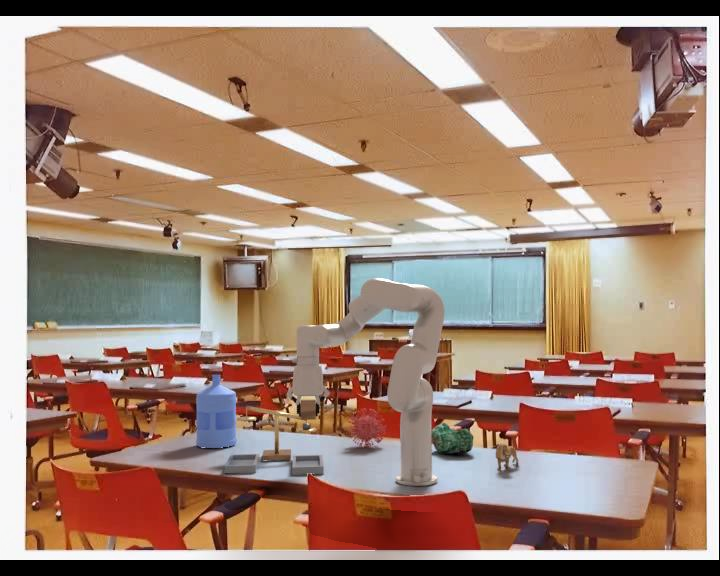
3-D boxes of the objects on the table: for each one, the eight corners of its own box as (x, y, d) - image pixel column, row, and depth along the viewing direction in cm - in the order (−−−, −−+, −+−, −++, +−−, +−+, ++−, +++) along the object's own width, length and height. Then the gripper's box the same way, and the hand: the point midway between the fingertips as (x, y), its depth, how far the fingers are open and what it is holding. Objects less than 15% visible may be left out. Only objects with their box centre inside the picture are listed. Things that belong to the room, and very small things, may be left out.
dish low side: (323, 474, 213) (323, 466, 213) (292, 475, 212) (292, 467, 212) (322, 462, 231) (322, 454, 231) (293, 463, 230) (293, 455, 230)
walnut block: (315, 419, 220) (315, 401, 220) (300, 419, 220) (300, 401, 220) (315, 417, 225) (315, 399, 225) (300, 417, 225) (300, 399, 225)
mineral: (418, 452, 245) (418, 425, 245) (445, 446, 256) (444, 420, 256) (459, 459, 232) (459, 431, 232) (485, 452, 243) (484, 425, 243)
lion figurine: (509, 473, 210) (509, 445, 211) (493, 472, 213) (492, 444, 213) (520, 464, 224) (520, 437, 224) (505, 463, 226) (504, 436, 226)
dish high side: (255, 472, 216) (255, 465, 216) (224, 473, 215) (224, 466, 215) (259, 460, 234) (259, 453, 234) (230, 461, 233) (230, 454, 233)
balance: (316, 459, 235) (316, 405, 235) (235, 462, 232) (235, 407, 233) (316, 453, 245) (315, 402, 245) (238, 456, 242) (238, 404, 243)
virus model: (371, 442, 266) (371, 404, 267) (393, 447, 254) (393, 408, 255) (340, 446, 258) (340, 408, 259) (362, 452, 246) (361, 412, 247)
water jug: (201, 442, 271) (201, 373, 272) (239, 441, 271) (239, 372, 272) (191, 449, 255) (191, 376, 257) (232, 449, 255) (231, 376, 257)
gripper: (282, 362, 219) (282, 418, 218) (333, 362, 220) (334, 417, 219) (282, 361, 226) (283, 415, 225) (332, 360, 227) (333, 413, 227)
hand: (308, 415), depth 222 cm, fingers closed on walnut block, 5 cm apart
